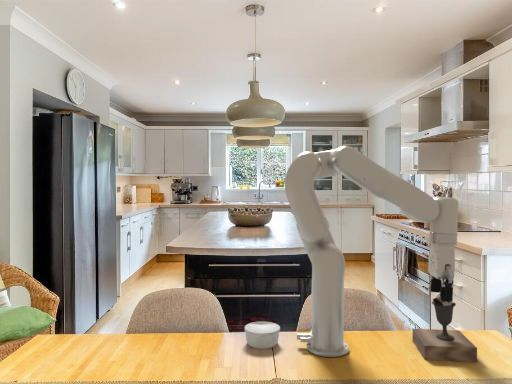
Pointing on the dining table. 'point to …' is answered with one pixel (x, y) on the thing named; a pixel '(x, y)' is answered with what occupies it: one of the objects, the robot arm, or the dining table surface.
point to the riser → (444, 346)
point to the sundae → (443, 316)
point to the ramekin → (262, 334)
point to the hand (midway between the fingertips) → (440, 296)
